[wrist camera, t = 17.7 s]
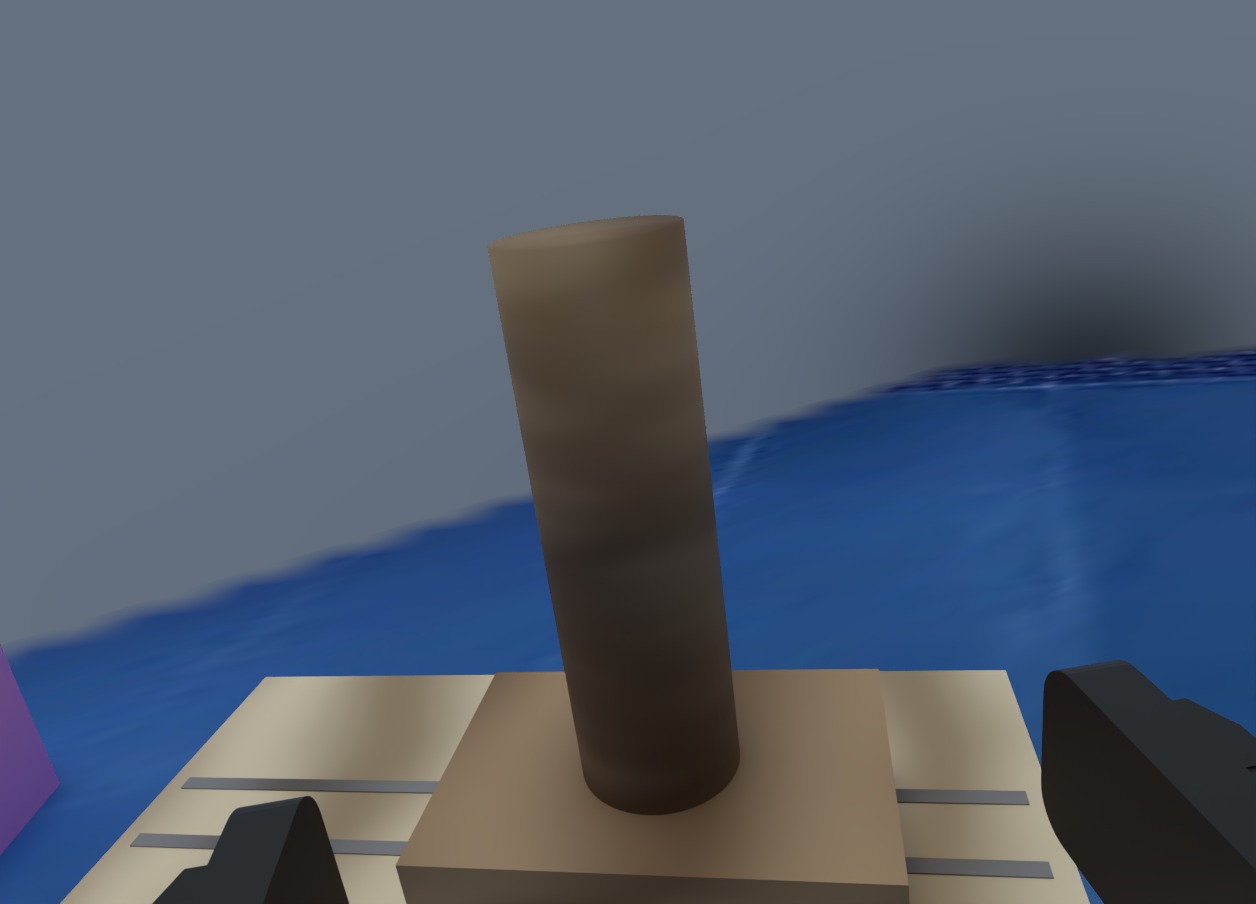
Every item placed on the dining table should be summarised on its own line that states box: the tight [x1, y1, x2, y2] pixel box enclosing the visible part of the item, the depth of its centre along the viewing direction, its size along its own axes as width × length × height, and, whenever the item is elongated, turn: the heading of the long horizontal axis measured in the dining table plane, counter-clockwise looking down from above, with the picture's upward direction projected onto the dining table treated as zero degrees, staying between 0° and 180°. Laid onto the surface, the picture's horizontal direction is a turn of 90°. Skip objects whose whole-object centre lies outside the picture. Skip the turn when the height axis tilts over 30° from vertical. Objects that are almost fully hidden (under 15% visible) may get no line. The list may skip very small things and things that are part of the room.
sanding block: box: [395, 215, 909, 904], centre depth 17 cm, size 9×6×13 cm, turn 80°
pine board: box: [60, 670, 1090, 904], centre depth 20 cm, size 22×14×2 cm, turn 80°
